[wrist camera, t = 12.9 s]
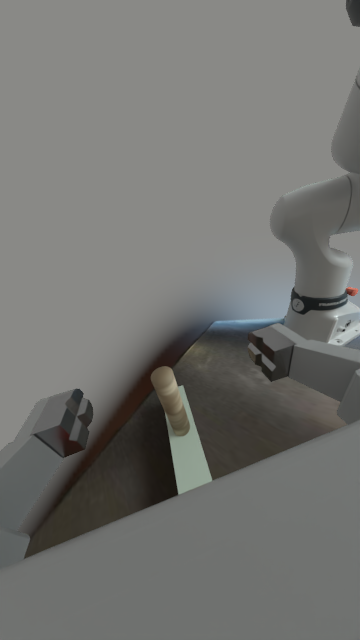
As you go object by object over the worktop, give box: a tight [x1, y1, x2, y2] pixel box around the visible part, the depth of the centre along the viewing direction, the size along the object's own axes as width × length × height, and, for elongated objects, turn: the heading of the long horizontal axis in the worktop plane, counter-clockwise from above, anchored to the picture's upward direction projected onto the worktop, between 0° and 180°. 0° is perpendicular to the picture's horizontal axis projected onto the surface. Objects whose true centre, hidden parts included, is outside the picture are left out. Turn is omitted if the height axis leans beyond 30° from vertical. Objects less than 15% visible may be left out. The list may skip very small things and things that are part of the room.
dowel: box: [151, 366, 190, 436], centre depth 27 cm, size 3×3×14 cm
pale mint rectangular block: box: [165, 385, 212, 495], centre depth 32 cm, size 5×18×6 cm, turn 14°
